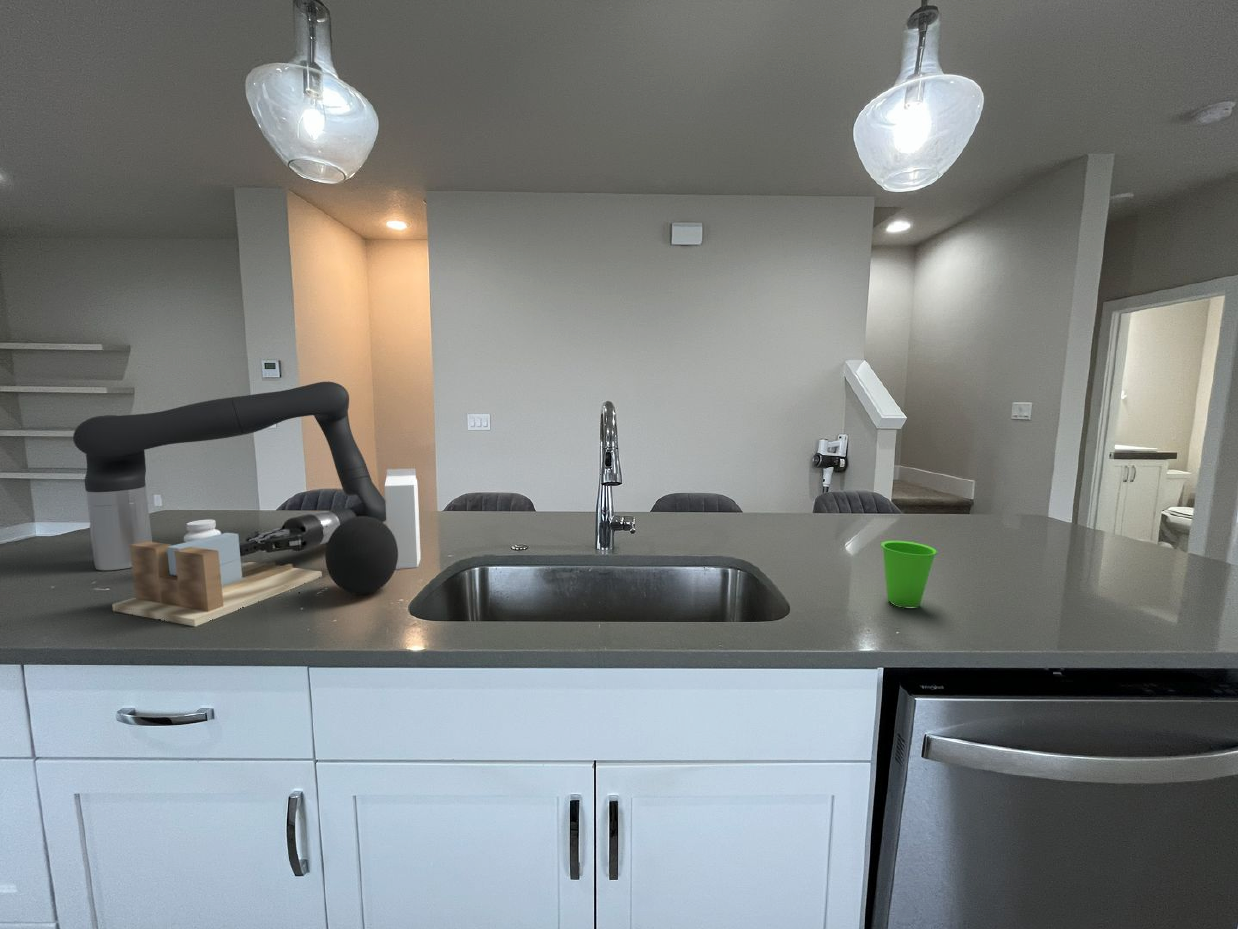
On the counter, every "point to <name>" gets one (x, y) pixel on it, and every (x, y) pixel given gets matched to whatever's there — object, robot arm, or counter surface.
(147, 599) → the jig
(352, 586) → the decorative egg
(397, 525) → the milk
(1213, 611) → the counter surface
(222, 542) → the sliding plate
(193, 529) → the pill bottle
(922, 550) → the cup
